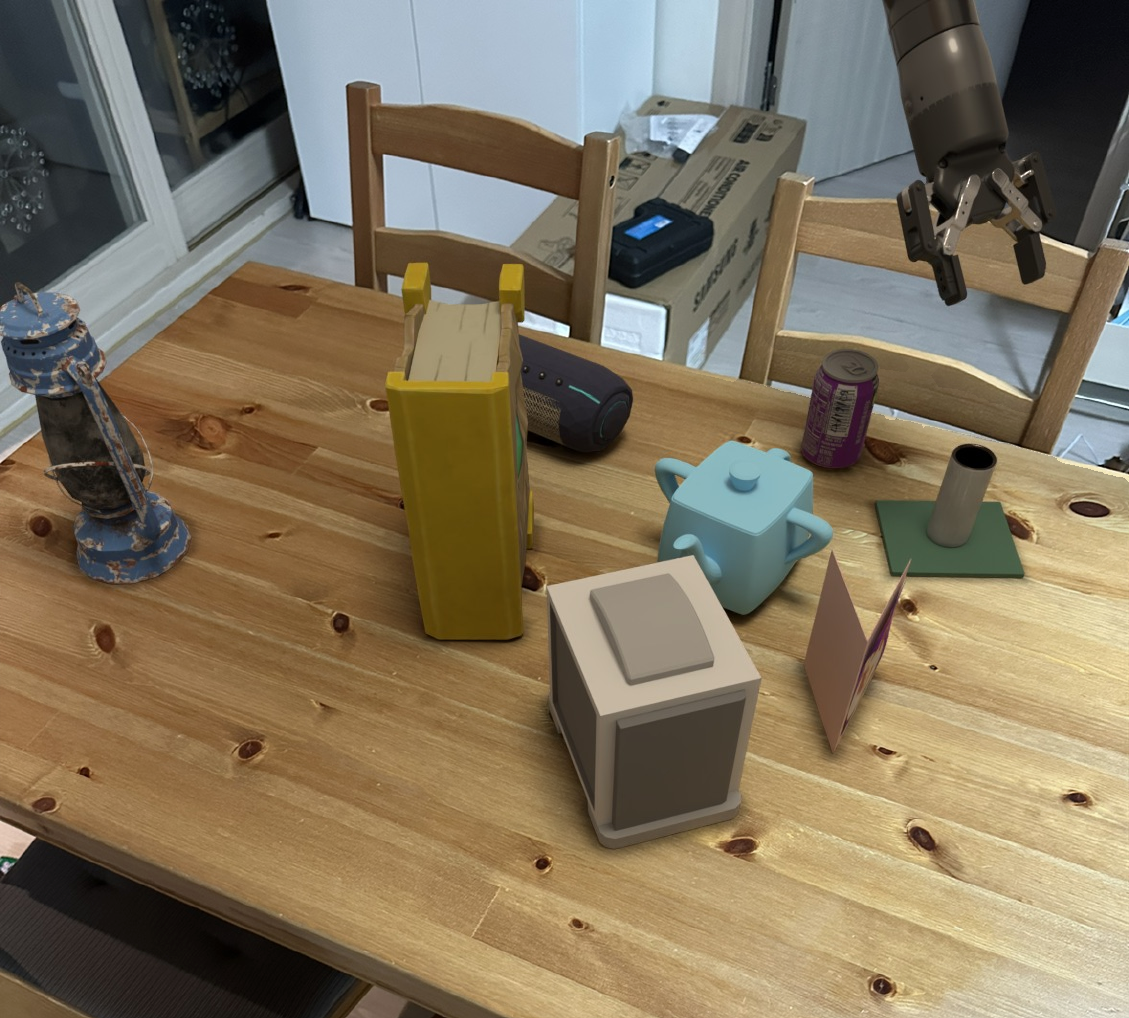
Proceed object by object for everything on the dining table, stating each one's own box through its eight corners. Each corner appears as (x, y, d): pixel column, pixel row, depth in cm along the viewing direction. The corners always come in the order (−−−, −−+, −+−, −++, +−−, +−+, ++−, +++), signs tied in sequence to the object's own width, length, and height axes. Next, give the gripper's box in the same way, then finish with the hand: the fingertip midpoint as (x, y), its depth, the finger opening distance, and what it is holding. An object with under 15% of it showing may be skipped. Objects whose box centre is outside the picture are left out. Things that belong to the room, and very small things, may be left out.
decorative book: (525, 644, 108) (510, 380, 84) (417, 642, 108) (372, 378, 84) (537, 517, 120) (527, 255, 96) (440, 515, 120) (406, 254, 97)
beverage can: (872, 459, 126) (896, 368, 116) (828, 481, 123) (849, 390, 114) (831, 430, 129) (851, 339, 120) (787, 450, 127) (804, 359, 117)
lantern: (48, 542, 118) (-85, 283, 95) (142, 490, 124) (38, 233, 100) (125, 607, 112) (3, 346, 88) (221, 549, 117) (130, 288, 94)
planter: (922, 520, 118) (948, 442, 110) (963, 521, 118) (992, 442, 110) (930, 548, 115) (956, 469, 107) (972, 548, 115) (1002, 470, 107)
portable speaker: (428, 408, 133) (419, 334, 125) (477, 370, 138) (471, 297, 130) (594, 478, 124) (595, 403, 116) (640, 435, 129) (643, 361, 121)
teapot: (646, 524, 119) (652, 421, 108) (790, 516, 119) (810, 413, 109) (665, 641, 108) (674, 539, 97) (825, 632, 108) (851, 529, 98)
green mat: (998, 505, 120) (1000, 501, 120) (1023, 578, 113) (1025, 574, 112) (874, 504, 121) (875, 499, 120) (890, 576, 113) (892, 571, 113)
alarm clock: (744, 815, 94) (774, 678, 80) (603, 852, 92) (608, 717, 78) (672, 670, 105) (688, 525, 91) (545, 699, 103) (540, 556, 89)
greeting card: (841, 757, 98) (877, 644, 86) (767, 727, 101) (792, 614, 89) (882, 677, 104) (920, 561, 93) (811, 650, 107) (840, 535, 95)
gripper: (909, 95, 86) (958, 295, 89) (1047, 64, 90) (1091, 258, 92) (858, 140, 93) (905, 324, 96) (988, 110, 97) (1030, 288, 100)
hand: (996, 291), depth 94 cm, fingers open, 8 cm apart
